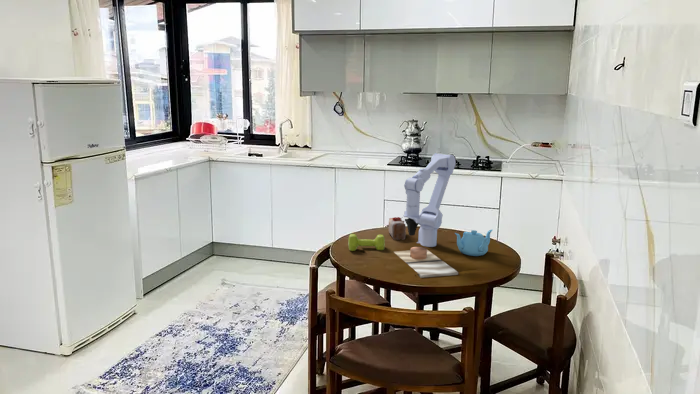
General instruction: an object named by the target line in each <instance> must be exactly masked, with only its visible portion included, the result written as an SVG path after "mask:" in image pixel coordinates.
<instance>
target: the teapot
mask: <svg viewBox="0 0 700 394" xmlns="http://www.w3.org/2000/svg"><path fill="white" fill-rule="evenodd" d="M492 232H493V229H490V230H488V231H487V232H486V235H485V236H484V235H483V234H482V233H480V232H478V230H475V229H471V231H464V232H463V233H462V237H461V235H460V234H459V233H457V232H454V234H455V236H456V246H457V247H458V248H457V249H458V251H460V253H461V254H464V255H465V256H471V257H472V256H473V257H479V256H480V257H481V256H484V255H485V254H486V253H487V252H488V251H489V244H490V242H491V233H492Z"/></svg>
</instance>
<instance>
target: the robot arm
mask: <svg viewBox="0 0 700 394" xmlns="http://www.w3.org/2000/svg"><path fill="white" fill-rule="evenodd" d="M455 166H456V157H455V156H454V154H444V153H437V152H435V153H433V154H432V155H431V159H430V162H429V163H428V164H427V166H426V167H425V168H420V169H419V170H418V171H417V172H416V173H415V174H414V175H412V177H408V178H407V179H406V180H405V182H404V185H403V186H404V189H405V195H406V201H405V202H406V206H405V209H406V210H405V211H404V214H402V215H403V216H402V217H404V218H405V219H404V221H405V222H404V223H405V225H406V228H407V231H408V236H410V237H411V236H415V234H416V231H417V228H418V226H420V227H419V229H418V235H417V236H418V238H417V239H418V240H417V242H416V244H420V245H421V247H422V246H423V247H425V248H426V247H427V248H433V247H436V246H437V238H438V229H440V227H441V226H442V223H443V212H442V211H441V209H440V208H441V204H442V201H443V199H444V195H445V192H446V189H447V187H448V182H449V180H450V177H451V175H452V174H453V172H454V170H455ZM433 172H435V173H436V174H437V178H436V182H435V184H434V187H433V190H432V194H431V197H430V199H429V202H428V204H427V206H425V207H423V208H422V209H421V212H420V203H421V201H420V200H421V192H422V190H423V189H424V186H425V184H426V182H427V181H429V180H430V178H431V174H432V173H433Z"/></svg>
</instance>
